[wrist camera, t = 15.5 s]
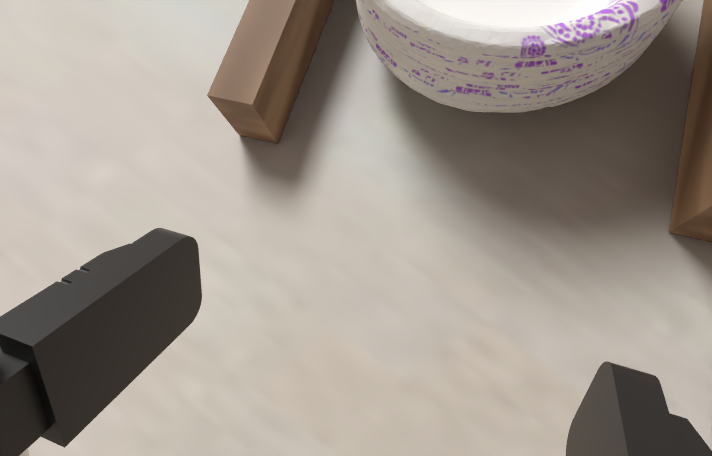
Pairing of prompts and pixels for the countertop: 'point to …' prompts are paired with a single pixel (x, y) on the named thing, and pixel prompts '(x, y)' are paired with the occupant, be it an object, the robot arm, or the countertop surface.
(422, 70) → the paper bowls
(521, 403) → the countertop surface
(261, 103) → the walnut bay
